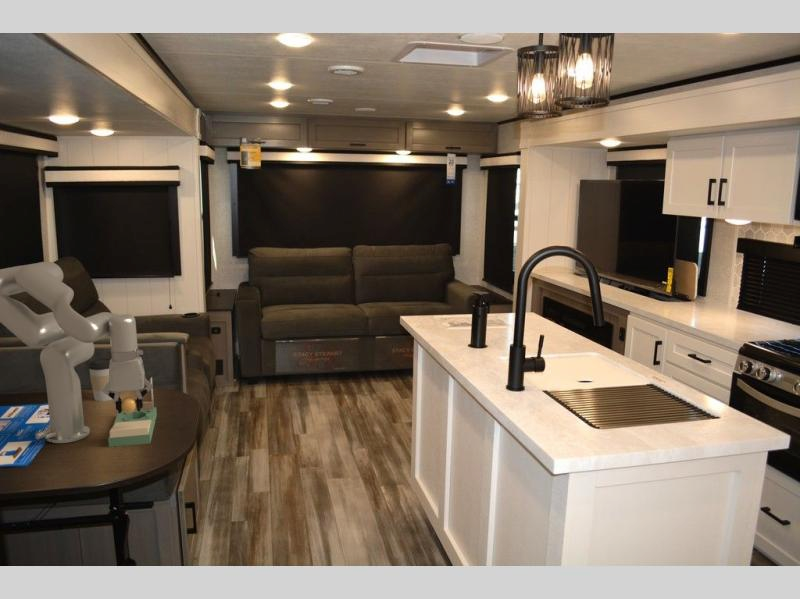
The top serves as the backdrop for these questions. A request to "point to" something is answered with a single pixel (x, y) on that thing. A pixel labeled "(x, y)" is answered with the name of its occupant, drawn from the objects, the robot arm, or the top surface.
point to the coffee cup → (99, 378)
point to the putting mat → (134, 426)
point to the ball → (129, 404)
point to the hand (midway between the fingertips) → (129, 410)
